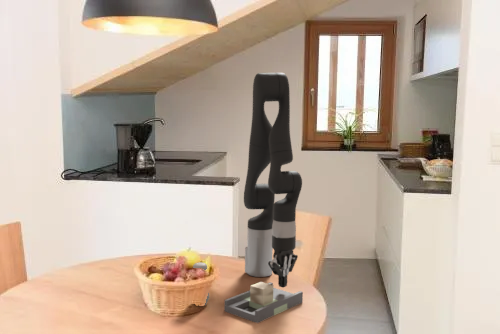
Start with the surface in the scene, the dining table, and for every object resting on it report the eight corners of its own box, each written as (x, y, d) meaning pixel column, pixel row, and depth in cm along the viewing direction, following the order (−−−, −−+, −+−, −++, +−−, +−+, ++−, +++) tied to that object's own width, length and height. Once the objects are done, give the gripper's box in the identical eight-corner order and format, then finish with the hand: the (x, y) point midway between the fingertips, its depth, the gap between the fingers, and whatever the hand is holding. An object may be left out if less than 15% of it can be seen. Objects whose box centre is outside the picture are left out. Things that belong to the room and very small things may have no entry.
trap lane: (224, 311, 163) (224, 300, 163) (270, 292, 180) (270, 282, 179) (257, 323, 155) (257, 311, 154) (302, 302, 171) (302, 291, 171)
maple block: (250, 301, 166) (250, 285, 165) (260, 297, 170) (260, 281, 169) (262, 305, 163) (263, 289, 162) (273, 301, 166) (273, 285, 166)
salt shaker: (206, 308, 165) (206, 267, 163) (188, 306, 166) (188, 265, 165) (211, 301, 171) (211, 261, 169) (193, 300, 172) (194, 260, 170)
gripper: (287, 228, 179) (285, 278, 181) (261, 235, 169) (260, 289, 171) (305, 232, 174) (304, 284, 176) (280, 240, 164) (279, 295, 166)
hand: (282, 286), depth 174 cm, fingers closed
